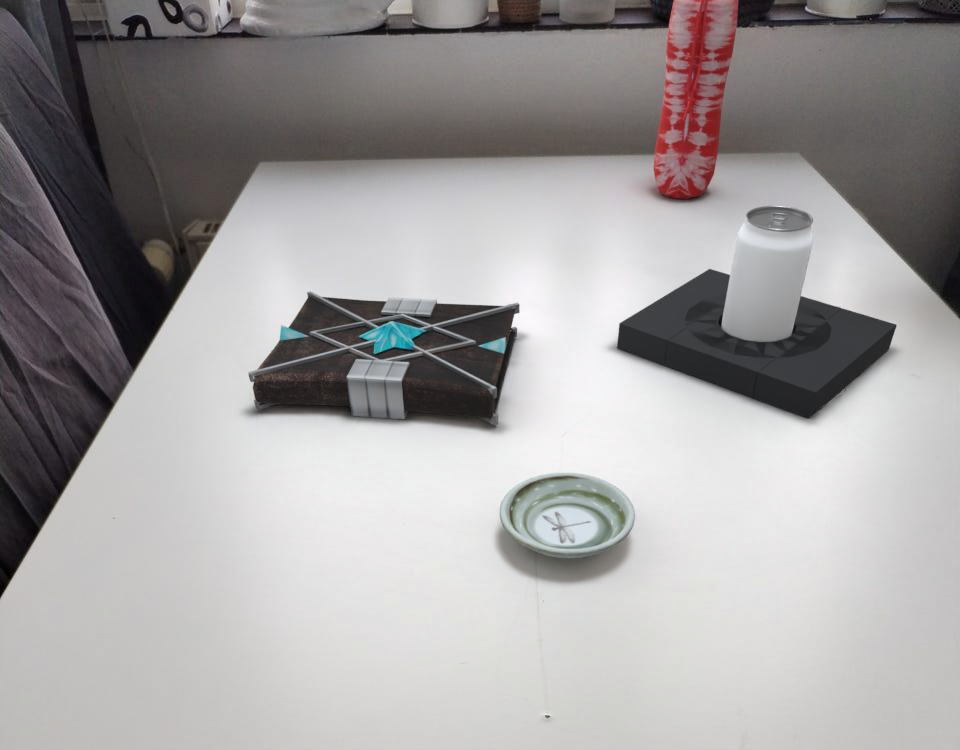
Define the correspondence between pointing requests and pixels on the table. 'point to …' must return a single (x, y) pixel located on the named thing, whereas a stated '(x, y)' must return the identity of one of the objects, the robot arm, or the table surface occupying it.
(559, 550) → the saucer
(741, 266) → the can
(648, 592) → the table surface
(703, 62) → the red tall rounded piece
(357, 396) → the book
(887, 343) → the pad
